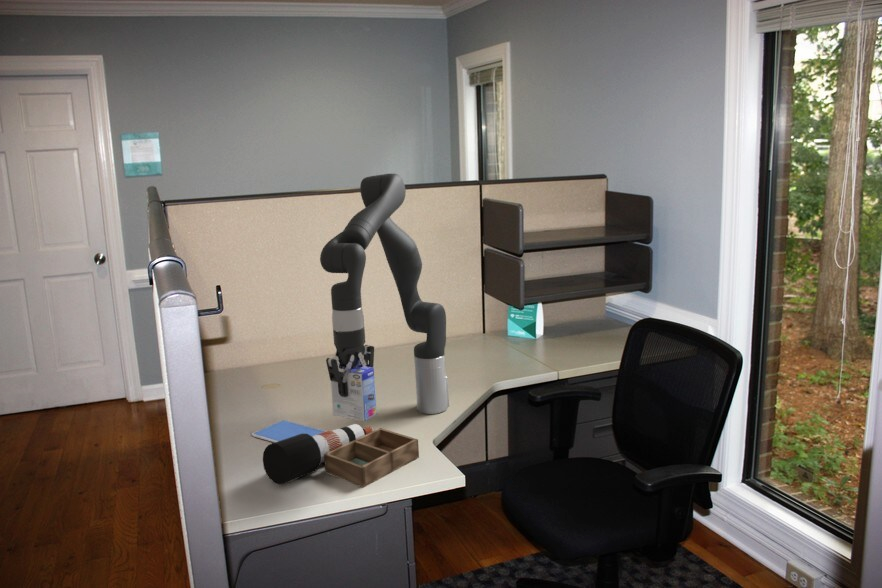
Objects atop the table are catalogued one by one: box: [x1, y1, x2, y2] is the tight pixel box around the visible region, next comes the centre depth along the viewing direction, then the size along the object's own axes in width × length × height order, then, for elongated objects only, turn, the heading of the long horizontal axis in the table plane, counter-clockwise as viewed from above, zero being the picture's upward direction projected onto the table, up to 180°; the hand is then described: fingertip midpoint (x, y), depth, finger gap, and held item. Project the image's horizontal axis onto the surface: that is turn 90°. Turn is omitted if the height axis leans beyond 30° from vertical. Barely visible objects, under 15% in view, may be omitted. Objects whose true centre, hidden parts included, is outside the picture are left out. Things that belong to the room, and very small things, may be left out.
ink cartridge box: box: [330, 360, 378, 422], centre depth 177 cm, size 10×6×14 cm, turn 61°
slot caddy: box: [324, 427, 420, 488], centre depth 185 cm, size 20×14×5 cm
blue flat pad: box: [251, 419, 327, 443], centre depth 207 cm, size 19×13×1 cm, turn 54°
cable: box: [262, 423, 373, 485], centre depth 189 cm, size 10×34×10 cm, turn 142°
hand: (353, 392), depth 178 cm, fingers closed on ink cartridge box, 6 cm apart
